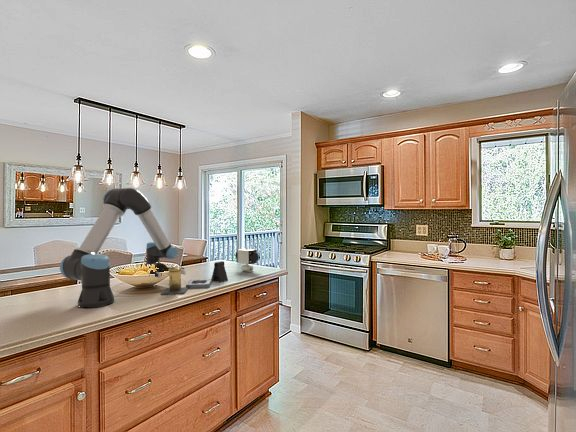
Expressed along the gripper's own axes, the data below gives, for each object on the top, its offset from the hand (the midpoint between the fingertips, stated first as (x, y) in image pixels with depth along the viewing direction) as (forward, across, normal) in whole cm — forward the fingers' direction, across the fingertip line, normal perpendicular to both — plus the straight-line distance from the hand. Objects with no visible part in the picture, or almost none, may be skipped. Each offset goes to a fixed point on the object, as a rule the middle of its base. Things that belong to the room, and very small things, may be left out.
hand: (173, 274), depth 177 cm
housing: (-2, -16, -9) cm, 19 cm away
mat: (+3, 0, -9) cm, 10 cm away
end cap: (+3, 0, -8) cm, 9 cm away
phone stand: (-4, -32, -10) cm, 33 cm away
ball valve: (-16, -62, -10) cm, 65 cm away
